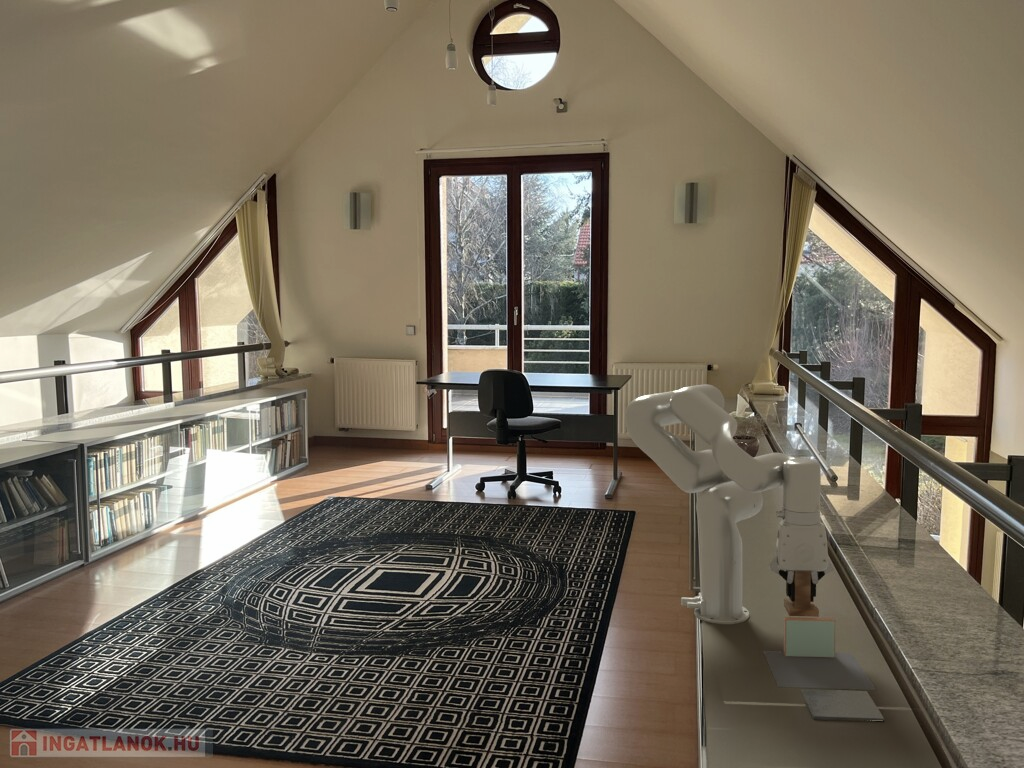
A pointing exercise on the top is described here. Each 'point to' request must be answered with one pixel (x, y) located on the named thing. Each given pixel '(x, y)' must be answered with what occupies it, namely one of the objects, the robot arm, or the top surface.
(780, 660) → the mat
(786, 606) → the wooden block
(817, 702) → the plate
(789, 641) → the tile
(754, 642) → the top surface
